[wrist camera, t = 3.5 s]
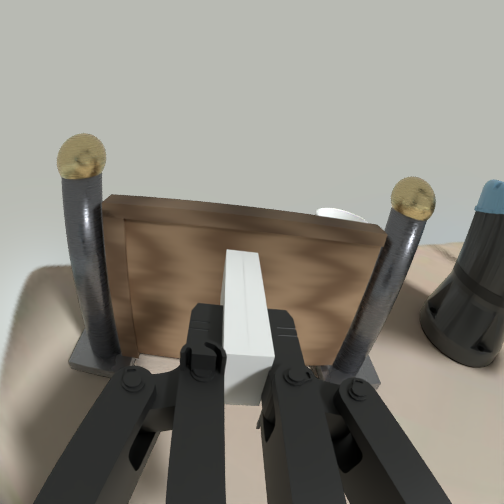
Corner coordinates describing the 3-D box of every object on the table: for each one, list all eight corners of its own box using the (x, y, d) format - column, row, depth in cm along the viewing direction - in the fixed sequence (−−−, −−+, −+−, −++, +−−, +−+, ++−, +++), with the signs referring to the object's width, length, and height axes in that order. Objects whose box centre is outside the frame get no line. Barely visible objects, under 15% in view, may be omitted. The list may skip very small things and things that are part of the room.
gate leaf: (327, 357, 28) (377, 224, 21) (331, 370, 26) (387, 234, 20) (126, 342, 26) (111, 194, 19) (122, 355, 24) (101, 202, 17)
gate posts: (359, 349, 31) (426, 176, 22) (376, 389, 25) (469, 199, 16) (90, 327, 27) (68, 130, 18) (71, 368, 22) (23, 142, 13)
